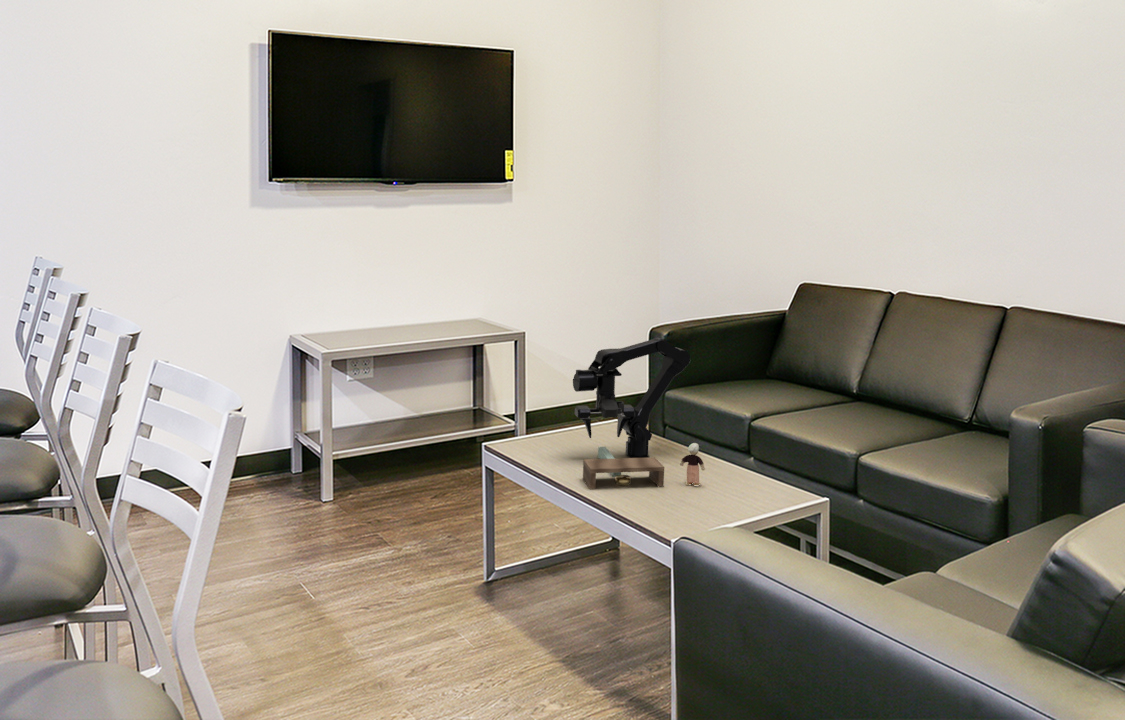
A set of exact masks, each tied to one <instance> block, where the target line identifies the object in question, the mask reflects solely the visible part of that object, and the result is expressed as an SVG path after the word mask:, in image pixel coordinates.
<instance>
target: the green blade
mask: <svg viewBox="0 0 1125 720" xmlns="http://www.w3.org/2000/svg"><path fill="white" fill-rule="evenodd" d="M597 457H598V459H599V458H600V459H616V458H615V457H614V455H613V454H612V452H610V450H609V449H608V448H607V447H606V446H598V449H597ZM610 475H611V476H612V478H615V476H617V475H622V472H616V473H610Z"/></svg>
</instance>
